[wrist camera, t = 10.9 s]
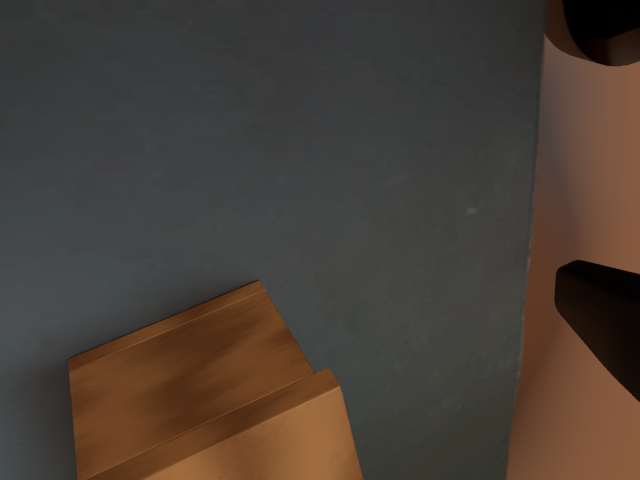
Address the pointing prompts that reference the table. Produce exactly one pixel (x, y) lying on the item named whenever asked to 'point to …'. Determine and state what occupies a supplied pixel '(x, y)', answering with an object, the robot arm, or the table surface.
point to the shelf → (210, 401)
